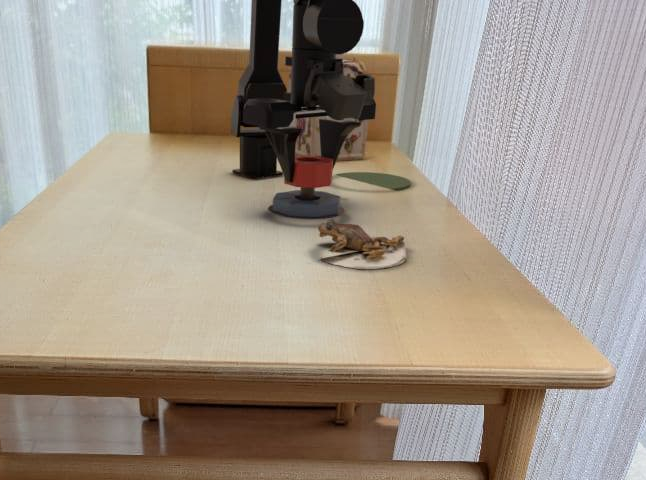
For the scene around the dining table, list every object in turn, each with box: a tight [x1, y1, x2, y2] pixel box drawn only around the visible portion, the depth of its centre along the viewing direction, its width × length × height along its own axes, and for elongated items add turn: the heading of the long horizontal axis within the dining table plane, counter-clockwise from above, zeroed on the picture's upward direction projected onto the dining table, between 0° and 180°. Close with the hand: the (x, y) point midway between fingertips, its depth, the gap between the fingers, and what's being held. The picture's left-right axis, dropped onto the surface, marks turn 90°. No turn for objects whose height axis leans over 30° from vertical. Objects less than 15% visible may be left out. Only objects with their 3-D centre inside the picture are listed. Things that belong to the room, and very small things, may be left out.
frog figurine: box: [317, 218, 409, 270], centre depth 99 cm, size 12×12×4 cm
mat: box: [333, 171, 411, 192], centre depth 136 cm, size 14×14×1 cm
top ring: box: [283, 155, 334, 189], centre depth 112 cm, size 6×6×3 cm
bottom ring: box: [272, 189, 342, 218], centre depth 115 cm, size 9×9×2 cm
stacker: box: [267, 187, 346, 220], centre depth 114 cm, size 11×11×6 cm
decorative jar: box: [287, 54, 369, 162], centre depth 151 cm, size 12×12×18 cm
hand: (308, 179), depth 113 cm, fingers closed on top ring, 6 cm apart
